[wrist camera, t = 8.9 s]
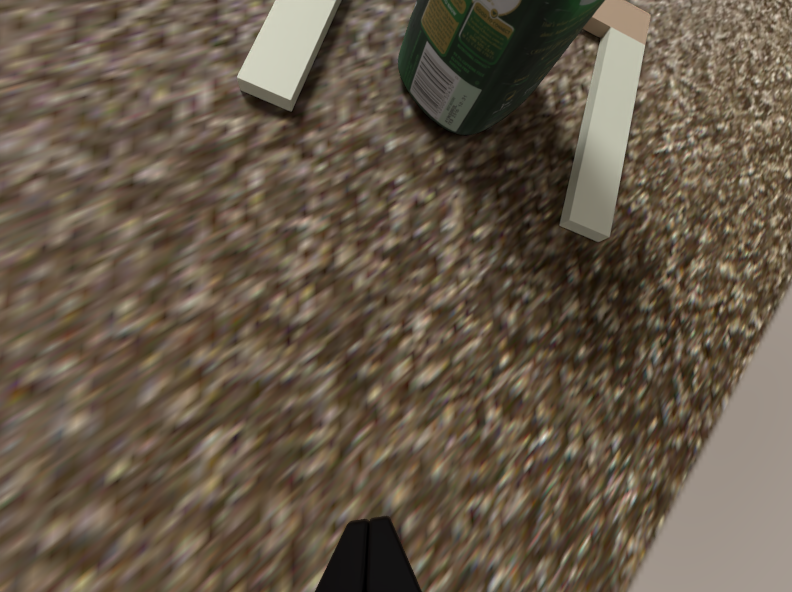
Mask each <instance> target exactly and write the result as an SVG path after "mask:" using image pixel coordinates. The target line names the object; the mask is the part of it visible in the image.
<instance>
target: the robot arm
mask: <svg viewBox="0 0 792 592" xmlns="http://www.w3.org/2000/svg"><path fill="white" fill-rule="evenodd" d="M315 592H422V591H421V588H420V586H419V584H418V582H417V579H416V577H415V575H414V572H413V570H412V568H411V565H410V563H409V561H408V558H407V556H406V554H405V551H404V549H403V547H402V544H401V542H400V540H399V537H398V535H397V533H396V530H395V528H394V526H393V523H392V521H391V519H390V517H389V516H382V517H375V518H371V519H370V521H369V520H367V519H361V520H354V521H350V522H349V523H348V524H347V526H346V528H345V530H344V532H343V534H342V536H341V538H340V540H339V543H338V545H337V547H336V549H335V551H334V553H333V555H332V557H331V559H330V561H329V563H328V565H327V568H326V570H325V572H324V574H323V576H322V578H321V580H320V582H319V584H318V586H317V588H316V590H315Z"/></svg>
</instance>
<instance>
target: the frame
mask: <svg viewBox="0 0 792 592" xmlns="http://www.w3.org/2000/svg"><path fill="white" fill-rule="evenodd" d="M340 2H341V0H276V1H275V3H274V5H273V7H272V9H271V11H270V13H269V15H268V17H267V19H266V21H265V23H264V25H263V26H262V28H261V30H260V32H259V34H258V36H257V38H256V40H255V42H254V44H253V46H252V48H251V50H250V52H249V54H248V56H247V58H246V60H245V62H244V64H243V66H242V68H241V70H240V72H239V74H238V76H237V80H238V84H239V88H240V90H241V91H243V92H246V93H248V94H250V95H253V96H255V97H258V98H260V99H262V100H265V101H267V102H269V103H272V104H274V105H276V106H279V107H281V108H283V109H286V110H288V111H291V112H292V110H293V107H294V105H295V103H296V101H297V98H298V96H299V94H300V92H301V89H302V87H303V85H304V83H305V81H306V78H307V76H308V74H309V72H310V69H311V67H312V65H313V63H314V60H315V58H316V56H317V54H318V52H319V49H320V47H321V45H322V43H323V40H324V38H325V36H326V34H327V31H328V29H329V27H330V25H331V23H332V20H333V18H334V16H335V14H336V11H337V9H338V7H339V5H340ZM650 16H651V15H650V14H649V13H647V12H645V11H643V10H641V9H639V8H638V7H636V6H634V5H632V4H630V3H628V2H627V1H625V0H605V1H604V2H603V4H602V5H601V6H600V7H599V8H598V10H597V11H596V12H595V14H594V15H593V16H592V17H591V19H590V20H589V21H588V22H587V24H586V25H585V26H584V27H583V29H584V30H586V31H588V32H590V33H592V34H593V35H595V36H597V37H599V38H601V40H600V44H599V49H598V53H597V58H596V62H595V67H594V71H593V76H592V80H591V85H590V89H589V94H588V98H587V103H586V107H585V112H584V116H583V121H582V125H581V130H580V134H579V139H578V143H577V148H576V152H575V157H574V161H573V166H572V170H571V175H570V179H569V184H568V188H567V193H566V197H565V202H564V206H563V211H562V216H561V220H560V225H559V226H561V227H564V228H566V229H568V230H571V231H573V232H576V233H578V234H580V235H583V236H585V237H587V238H590V239H592V240H594V241H597V242H600V241H602V240H604V239H607V238H609V237H610V233H611V227H612V222H613V217H614V211H615V206H616V200H617V195H618V189H619V184H620V179H621V173H622V168H623V162H624V157H625V151H626V146H627V141H628V135H629V130H630V124H631V119H632V114H633V108H634V103H635V97H636V92H637V86H638V81H639V76H640V70H641V65H642V59H643V54H644V48H645V43H646V38H647V32H648V27H649V21H650Z"/></svg>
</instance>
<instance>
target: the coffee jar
mask: <svg viewBox="0 0 792 592" xmlns="http://www.w3.org/2000/svg"><path fill="white" fill-rule="evenodd" d="M604 1H605V0H417V1H416V4H415V7H414V10H413V12H412V15H411V18H410V21H409V24H408V27H407V30H406V33H405V37H404V40H403V43H402V46H401V49H400V53H399V58H398V68H399V73H400V76H401V79H402V81H403V83H404V85H405V87H406V88H407V90H408V92H409V93H410V95H411V96H412V98H413V99H414V101H415V102H416V103H417V104H418V106H419V107H420V108H421V109H422V110H423V111H424V112H425V114H426V115H427V116H428V117H429V118H431V119H432V120H433V121H435V122H436V123H437V124H439V125H440V126H441V127H443V128H445V129H446V130H448V131H450V132H453V133H456V134H460V135H472V134H476V133H479V132H482V131H484V130H485V129H487V128H489V127H491V126H492V125H494V124H496V123H498V122H499V121H500V120H502V119H503V118H505V117H506V116H507V115H509V114H510V113H511V112H512V111H514V110H515V109H516V108H517V107H518V106H520V105H521V104H522V103H523V102H524V101H525V100H526V99H527V98H528V97H529V96H530V94H531V93H532V92H533V91H534V90H535V89H536V87H537V86H538V85H539V84H540V82H541V81H542V80H543V79H544V77H545V76H546V75H547V74H548V72H549V71H550V70H551V68H552V67H553V66H554V65H555V63H556V62H557V61H558V60H559V58H560V57H561V56H562V54H563V53H564V52H565V50H566V49H567V48H568V47H569V45H570V44H571V43H572V41H573V40H574V39H575V38H576V36H577V35H578V34H579V32H580V31H581V30H582V29H583V27H584V26H585V25H586V24H587V22H588V21H589V20H590V19H591V17H592V16H593V15H594V14H595V12H596V11H597V10H598V8H599V7H600V6H601V5H602V4H603V2H604Z"/></svg>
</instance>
